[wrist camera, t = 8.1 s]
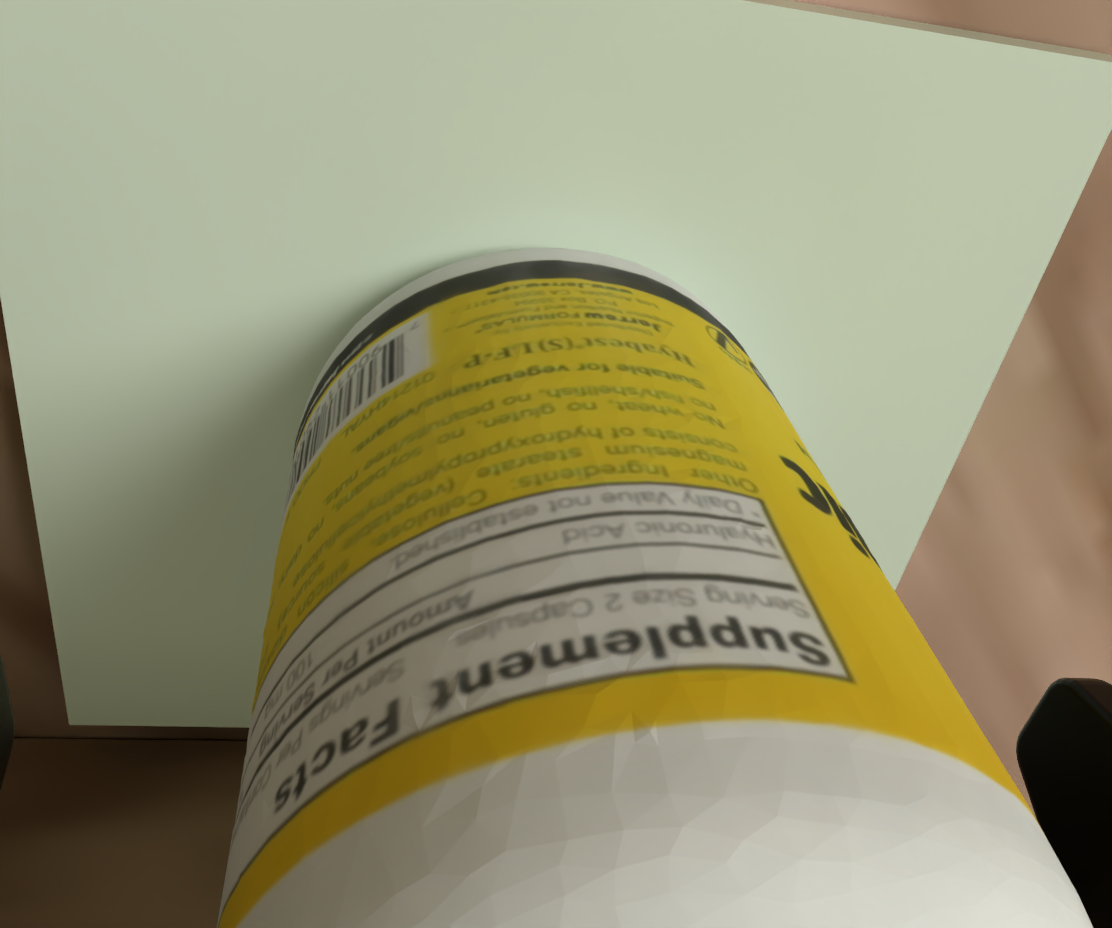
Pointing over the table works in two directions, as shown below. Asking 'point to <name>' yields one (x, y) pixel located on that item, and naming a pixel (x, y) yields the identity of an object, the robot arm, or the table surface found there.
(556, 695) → the supplement bottle
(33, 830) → the wooden frame
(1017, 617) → the table surface
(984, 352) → the sage tile
